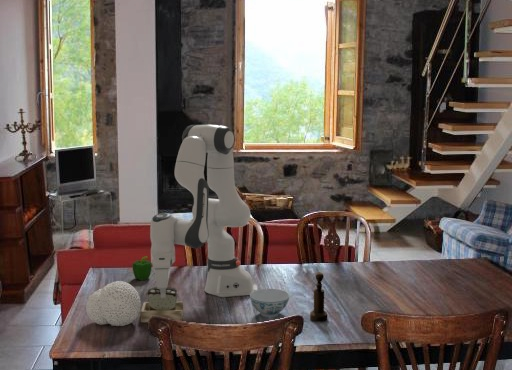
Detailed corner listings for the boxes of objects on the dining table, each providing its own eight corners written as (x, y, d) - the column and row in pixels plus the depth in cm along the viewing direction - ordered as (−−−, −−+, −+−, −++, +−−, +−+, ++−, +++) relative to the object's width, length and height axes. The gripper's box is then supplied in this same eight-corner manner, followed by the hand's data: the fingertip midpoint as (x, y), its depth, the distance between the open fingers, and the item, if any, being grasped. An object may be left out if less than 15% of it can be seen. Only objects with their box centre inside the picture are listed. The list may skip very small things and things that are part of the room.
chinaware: (252, 306, 271) (252, 288, 270) (290, 308, 270) (290, 289, 269) (247, 320, 257) (247, 300, 255) (288, 322, 255) (288, 302, 254)
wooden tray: (183, 311, 265) (183, 301, 265) (181, 321, 255) (181, 310, 254) (143, 312, 264) (143, 302, 264) (141, 322, 254) (140, 311, 253)
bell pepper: (133, 282, 302) (132, 260, 301) (132, 276, 310) (131, 255, 309) (152, 281, 304) (152, 259, 303) (151, 275, 312) (150, 254, 311)
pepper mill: (308, 316, 261) (309, 270, 258) (325, 315, 262) (326, 269, 259) (311, 322, 255) (312, 275, 252) (328, 321, 255) (329, 275, 252)
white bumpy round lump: (151, 293, 260) (126, 266, 251) (146, 329, 246) (119, 301, 237) (107, 312, 266) (81, 285, 257) (101, 348, 252) (73, 321, 243)
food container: (182, 312, 261) (182, 286, 260) (178, 317, 255) (177, 292, 254) (151, 310, 263) (150, 285, 262) (146, 316, 257) (145, 290, 256)
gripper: (156, 249, 266) (158, 284, 269) (152, 265, 246) (153, 302, 249) (173, 249, 267) (174, 283, 269) (169, 265, 247) (171, 301, 249)
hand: (164, 292), depth 259 cm, fingers open, 8 cm apart
